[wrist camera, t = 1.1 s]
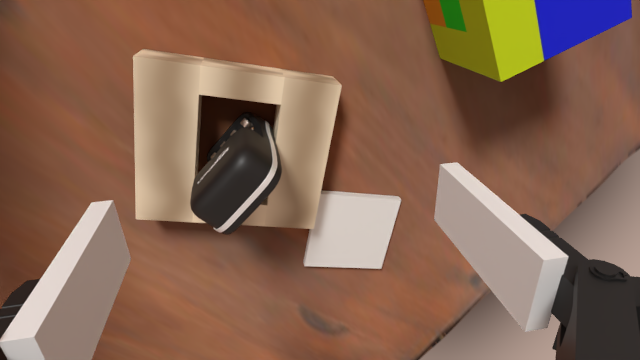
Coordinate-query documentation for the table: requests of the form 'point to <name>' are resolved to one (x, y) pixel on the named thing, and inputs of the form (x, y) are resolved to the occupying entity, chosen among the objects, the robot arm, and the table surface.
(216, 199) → the battery charger
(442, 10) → the puzzle toy
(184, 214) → the holder block
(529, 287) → the robot arm
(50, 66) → the table surface
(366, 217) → the white square tile
